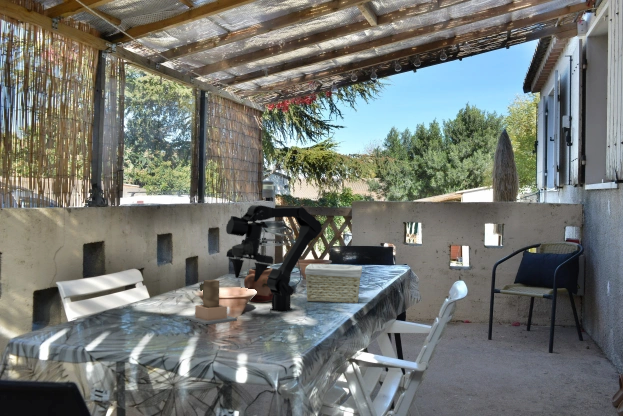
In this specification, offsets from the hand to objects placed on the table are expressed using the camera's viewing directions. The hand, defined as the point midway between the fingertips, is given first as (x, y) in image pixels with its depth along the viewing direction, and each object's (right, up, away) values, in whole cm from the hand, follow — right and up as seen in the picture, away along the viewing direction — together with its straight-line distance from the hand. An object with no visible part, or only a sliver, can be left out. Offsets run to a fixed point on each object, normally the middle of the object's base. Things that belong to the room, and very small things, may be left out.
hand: (245, 279), depth 224 cm
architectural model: (-5, -13, +62) cm, 63 cm away
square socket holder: (-11, -13, -12) cm, 20 cm away
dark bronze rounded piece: (-18, -12, +24) cm, 32 cm away
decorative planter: (+3, -13, +28) cm, 31 cm away
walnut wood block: (-11, -12, -12) cm, 20 cm away
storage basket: (+34, -13, +35) cm, 50 cm away
